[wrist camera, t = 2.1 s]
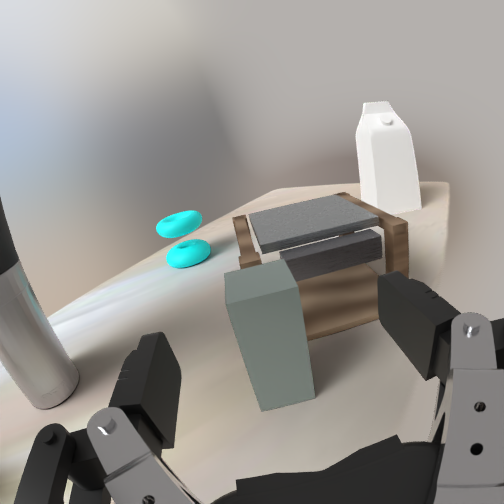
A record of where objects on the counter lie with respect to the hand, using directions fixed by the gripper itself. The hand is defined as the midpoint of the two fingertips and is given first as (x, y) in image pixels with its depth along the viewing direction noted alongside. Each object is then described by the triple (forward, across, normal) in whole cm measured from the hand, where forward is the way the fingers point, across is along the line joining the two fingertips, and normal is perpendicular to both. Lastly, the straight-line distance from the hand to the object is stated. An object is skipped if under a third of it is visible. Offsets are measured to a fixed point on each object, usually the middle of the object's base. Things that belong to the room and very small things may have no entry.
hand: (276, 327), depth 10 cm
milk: (+55, -36, +15) cm, 68 cm away
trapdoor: (+25, -8, +7) cm, 27 cm away
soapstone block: (+12, 0, +16) cm, 19 cm away
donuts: (+52, +13, +15) cm, 56 cm away
